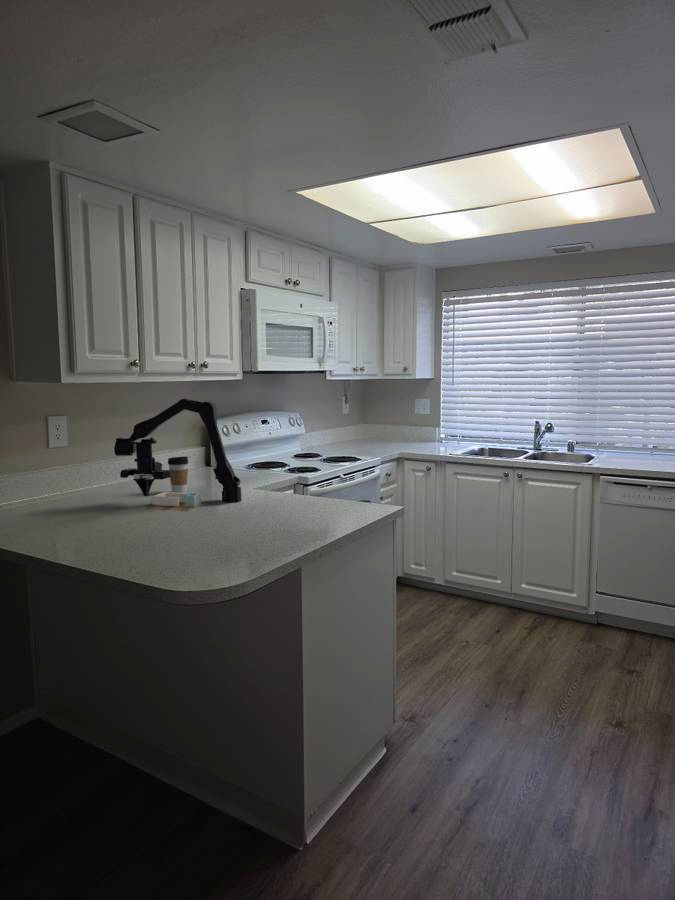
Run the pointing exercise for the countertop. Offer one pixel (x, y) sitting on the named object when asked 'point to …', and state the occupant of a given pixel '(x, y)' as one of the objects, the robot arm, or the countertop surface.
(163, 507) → the board
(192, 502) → the teal hollow cube
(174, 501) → the white bent bar
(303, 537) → the countertop surface
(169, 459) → the coffee cup
